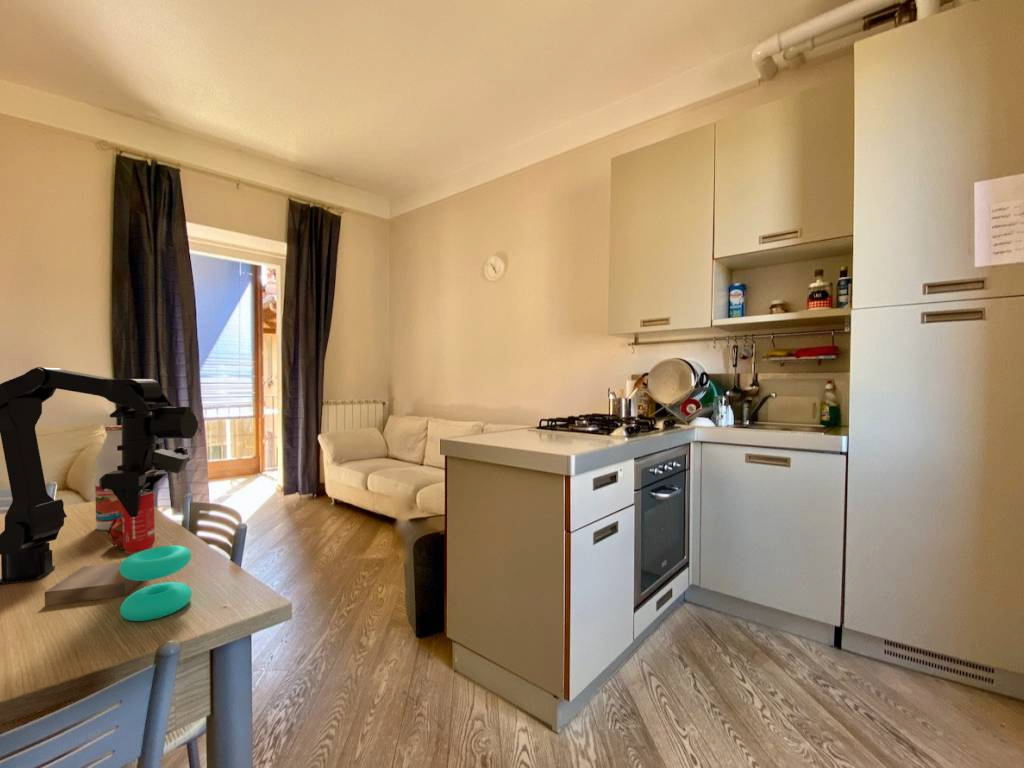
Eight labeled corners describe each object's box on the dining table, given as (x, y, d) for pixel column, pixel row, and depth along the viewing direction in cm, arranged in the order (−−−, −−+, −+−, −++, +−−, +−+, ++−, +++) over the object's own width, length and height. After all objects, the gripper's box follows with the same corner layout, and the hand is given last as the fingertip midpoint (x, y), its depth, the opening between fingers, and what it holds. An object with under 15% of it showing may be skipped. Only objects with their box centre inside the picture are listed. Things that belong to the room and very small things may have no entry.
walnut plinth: (44, 605, 83) (44, 592, 83) (83, 578, 94) (83, 566, 94) (125, 595, 86) (125, 582, 86) (153, 570, 98) (153, 558, 98)
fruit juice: (147, 519, 135) (145, 423, 134) (128, 529, 126) (126, 427, 125) (109, 521, 133) (107, 424, 132) (87, 532, 123) (85, 428, 123)
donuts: (183, 558, 79) (109, 568, 75) (184, 616, 79) (110, 629, 75) (196, 539, 88) (130, 548, 84) (197, 592, 88) (131, 602, 84)
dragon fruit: (137, 543, 119) (133, 564, 110) (100, 530, 115) (93, 551, 105) (160, 514, 121) (158, 533, 112) (126, 500, 117) (121, 518, 107)
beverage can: (137, 554, 94) (136, 497, 93) (116, 552, 95) (115, 495, 94) (161, 544, 99) (160, 489, 98) (140, 542, 100) (139, 488, 99)
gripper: (168, 443, 90) (168, 522, 90) (198, 432, 108) (198, 499, 108) (97, 445, 86) (98, 528, 87) (141, 434, 104) (141, 503, 104)
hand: (139, 513), depth 96 cm, fingers closed on beverage can, 5 cm apart
